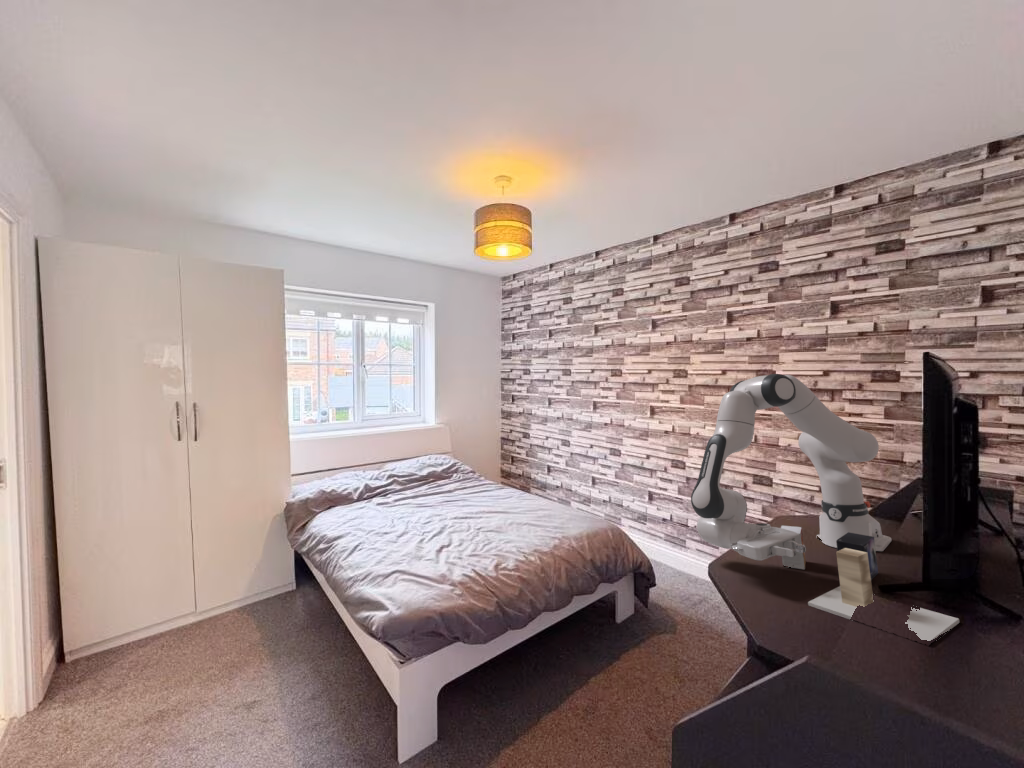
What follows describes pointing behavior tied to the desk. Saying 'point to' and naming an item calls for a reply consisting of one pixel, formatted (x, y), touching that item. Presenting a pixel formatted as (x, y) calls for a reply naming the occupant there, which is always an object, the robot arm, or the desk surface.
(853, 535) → the small box
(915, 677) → the desk surface
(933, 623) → the rubber mat
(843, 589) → the maple block
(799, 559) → the small box
